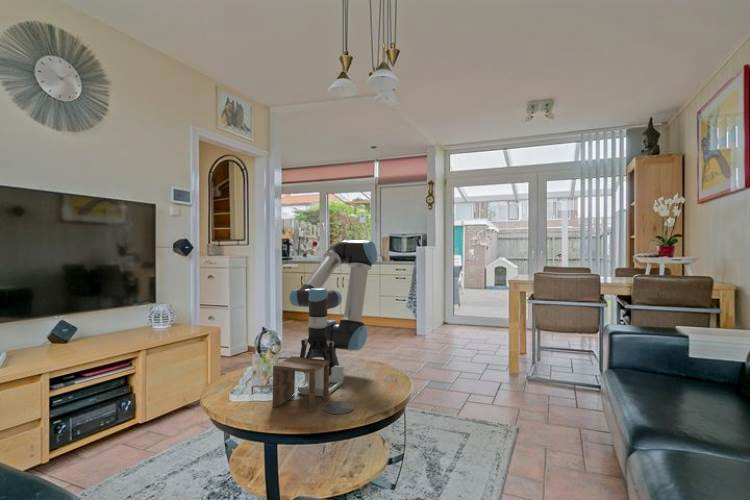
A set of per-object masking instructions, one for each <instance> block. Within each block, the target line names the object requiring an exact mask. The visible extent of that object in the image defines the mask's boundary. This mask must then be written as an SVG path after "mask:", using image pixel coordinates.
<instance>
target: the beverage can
mask: <svg viewBox="0 0 750 500" xmlns="http://www.w3.org/2000/svg"><path fill="white" fill-rule="evenodd" d="M313 359H323V360H324V358H323V357H315V358H313ZM307 384H308V387H309V373H308V382H307ZM315 388H319V389H323V388H324V367H322V368H321V369H319V370H318V371H316V372H315Z"/></svg>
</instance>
